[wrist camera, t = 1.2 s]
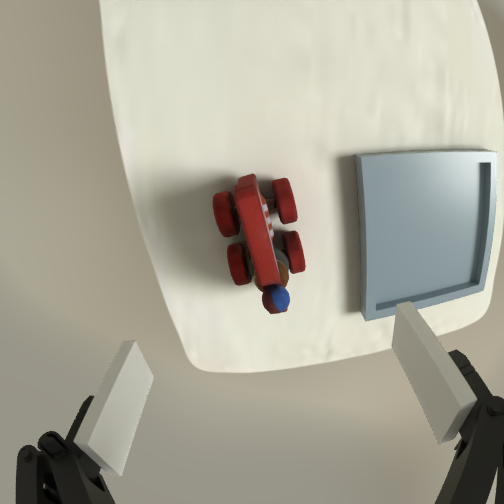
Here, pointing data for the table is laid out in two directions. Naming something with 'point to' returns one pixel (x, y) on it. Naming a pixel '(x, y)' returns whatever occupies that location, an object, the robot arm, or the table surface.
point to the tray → (424, 226)
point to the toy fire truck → (260, 238)
